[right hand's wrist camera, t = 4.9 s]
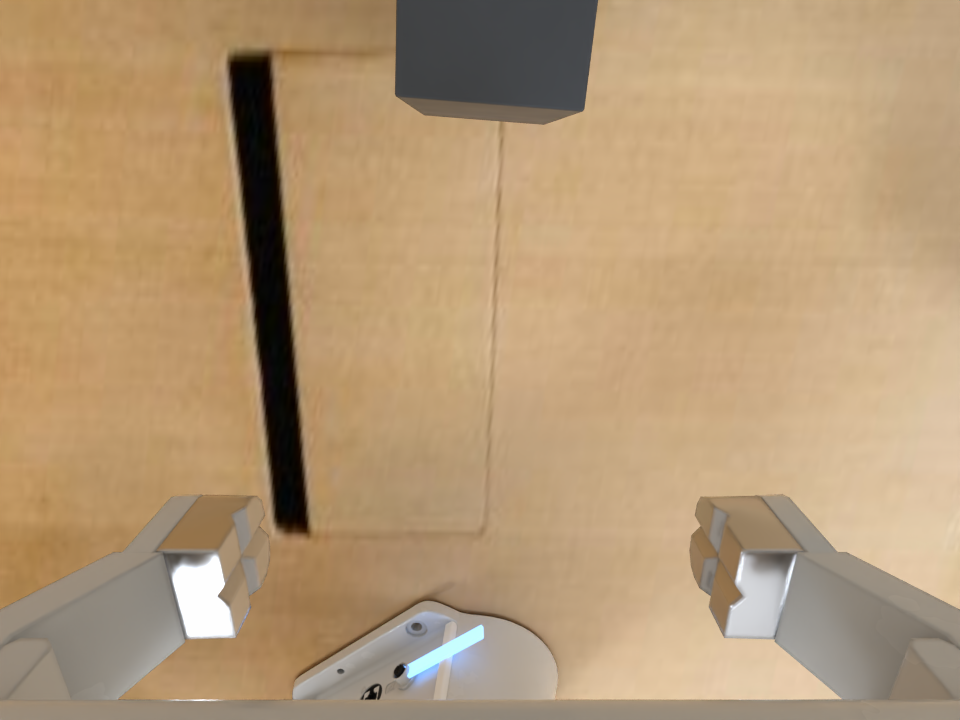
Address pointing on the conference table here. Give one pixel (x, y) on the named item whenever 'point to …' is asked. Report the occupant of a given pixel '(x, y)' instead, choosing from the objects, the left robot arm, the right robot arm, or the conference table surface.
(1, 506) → the conference table surface
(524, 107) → the bar
